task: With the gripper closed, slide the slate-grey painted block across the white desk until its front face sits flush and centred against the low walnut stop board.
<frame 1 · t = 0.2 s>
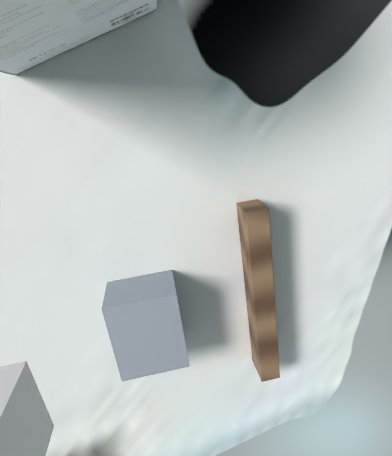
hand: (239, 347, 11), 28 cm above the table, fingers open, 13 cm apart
slate block: (147, 309, 42), on the table
walnut stop board: (254, 287, 43), on the table
hard drive box: (64, 1, 30), on the table
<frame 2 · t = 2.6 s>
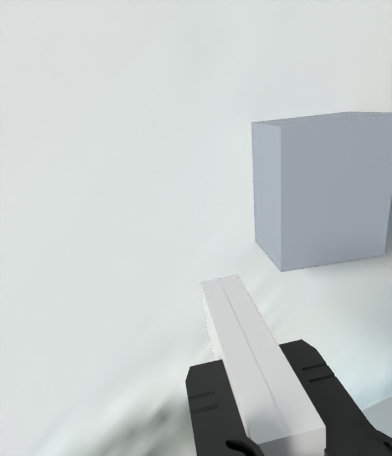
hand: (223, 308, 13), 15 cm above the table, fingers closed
slate block: (298, 179, 28), on the table
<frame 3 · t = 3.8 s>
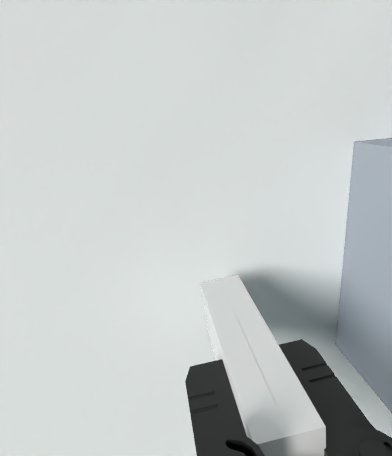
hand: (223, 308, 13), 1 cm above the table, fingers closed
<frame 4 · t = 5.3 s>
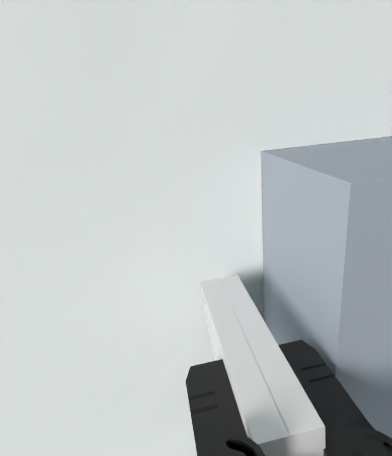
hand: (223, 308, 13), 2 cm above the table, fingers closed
slate block: (347, 252, 15), on the table, touching gripper
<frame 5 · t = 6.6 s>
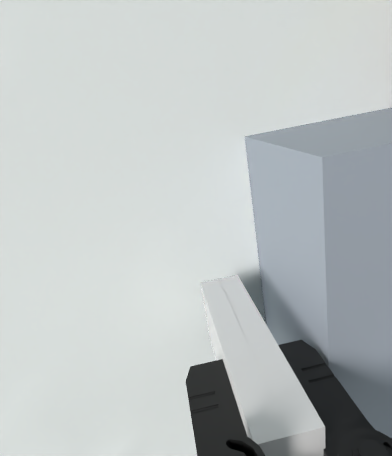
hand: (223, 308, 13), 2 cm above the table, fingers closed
slate block: (342, 232, 15), on the table
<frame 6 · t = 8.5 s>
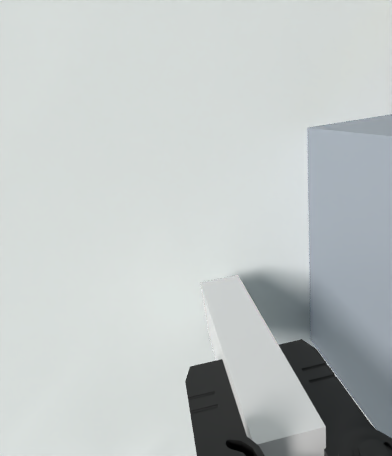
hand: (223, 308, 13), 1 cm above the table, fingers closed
slate block: (391, 228, 15), on the table
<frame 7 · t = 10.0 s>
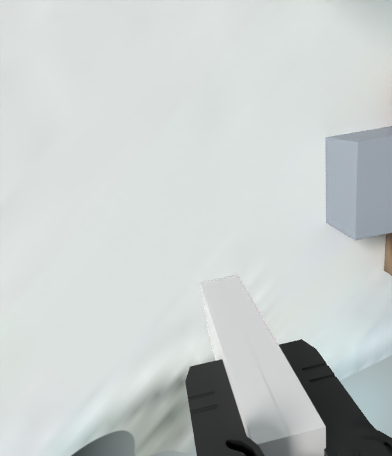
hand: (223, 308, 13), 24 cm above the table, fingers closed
slate block: (357, 175, 38), on the table
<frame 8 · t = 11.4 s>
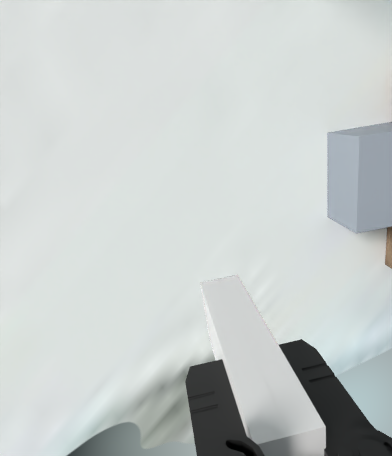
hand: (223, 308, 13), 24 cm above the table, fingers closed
slate block: (358, 170, 39), on the table
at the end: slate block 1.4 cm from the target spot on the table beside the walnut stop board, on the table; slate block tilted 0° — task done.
